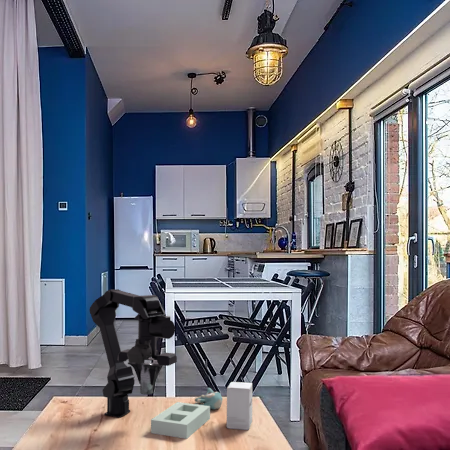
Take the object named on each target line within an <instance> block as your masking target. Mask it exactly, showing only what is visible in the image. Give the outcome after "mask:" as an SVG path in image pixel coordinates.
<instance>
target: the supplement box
mask: <svg viewBox="0 0 450 450" xmlns="http://www.w3.org/2000/svg"><path fill="white" fill-rule="evenodd" d="M252 423H253V382H241V381H240V382H239V381H231V382H230V383H229V385H228V386H227V387H226V429H232V430H233V429H234V430H242V431H243V430H245V431H249V430H250V429H251V425H252Z"/></svg>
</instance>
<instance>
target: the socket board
mask: <svg viewBox="0 0 450 450" xmlns="http://www.w3.org/2000/svg"><path fill="white" fill-rule="evenodd" d="M210 419H211V409H210V406H204V405H201V404H200V405H196V404H195V403H194V404H193V403H189V402H187V403H186V402H180V401H179V402H178V401H177V402H175V403H173V404H172V405H171V406H169V407H168V408H166V409H165V410H163V411H162V412H160V413H159V414H157V415H156V416H154V417H153V418H151V419H150V434H154V435H155V434H156V435H159V436H160V435H161V436H165V437H166V436H167V437H174V438H181V439H184V440H185V439H186V440H187V439H188V438H189V437H191V436H192V435H193V434H194V433H195V432H197V431H198V430H199V429H201V427H202V426H204V425H205V424H206V423H207V422H208V421H209V420H210Z"/></svg>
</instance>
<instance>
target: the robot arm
mask: <svg viewBox="0 0 450 450" xmlns="http://www.w3.org/2000/svg"><path fill="white" fill-rule="evenodd" d="M120 305H122V306H126V307H130V308H132V311H133V312H135V313H137V315H136V316H135V317H134V318H133V319H134V321H137V323H138V325H137V326H138V329H137V331H138V332H137V333H138V335H137V338H136V339H135V343H134V346H132V347H131V348H127V349H124V350H122V349H121V346H120V342H119V339H118V335H117V330H116V326H115V320H116V316H117V313H116V312H117V310H118V308H119V307H120ZM165 311H166V310H164V307H163V305H162V303H161V300H159V296H157V295H155V294H150V295H149V294H148V295H147V294H146V295H139V294H134V293H131V292H127V291H124V290H121V289H119V288H118V289H116V288H115V289H108V290H106V291H105V292H104V294H103V295H100V296H99V297H98V298H97V299H95V300H94V301H93V302H92V303H91V305H90V307H89V314H90V317H91V319H92V321H93V323H94V324H95V325H96V326H97V327H98V328H99V331H100V335H101V338H102V343H103V346H104V350H105V355H106V359H107V362H108V366H109V369H108V373H107V383H106V385H105V386H104V387H103V388H102V396H103V397H104V398H106V403H107V404H106V409H107V410H106V412H105V413H103V414H104V416H107V417H108V416H109V417H115V418H122V417H124V416H125V415H127V414H129V413H130V412H131V409H130V399H129V395H131V394H133V390H134V386H135V381H136V380H135V375H136V378H137V380H138V381H137V382H138V383H139V384H140V371H141V363H146V362H145V361H152V363H153V364H152V365H150V367H151V385H152V386H153V387H154V386H155V383H156V381H157V379H158V376H159V374H160V372H161V371H162V369H163V367H168V366H171V365H174V364H175V363H177V362H178V361H177V359H178V357H177V354H175V353H173V352H164V353H161V354H159V350H158V349H157V341H159V338H160V339H165V340H166V339H167V340H169V339H171V338H172V337H174V335H175V333H176V325H175V323H174V321H173V320H172V319H171V315H167V314H166V312H165ZM127 361H128V362H127ZM125 362H127V364H128V365H129V366H128V365H127V364H125ZM133 370H134V371H133ZM133 372H135V375H134V373H133Z"/></svg>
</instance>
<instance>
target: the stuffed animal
mask: <svg viewBox="0 0 450 450" xmlns="http://www.w3.org/2000/svg"><path fill="white" fill-rule="evenodd" d="M206 391H207V392H205V394H201V395H200V396H198V397H195V398H194V402H195V403H194V404H196V405H204V406H210V410H218V409H220V408H221V406H222V405H223V397H222V393H221V392H219V391H214V390H213V389H212V388H211V387H207V390H206Z"/></svg>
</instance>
